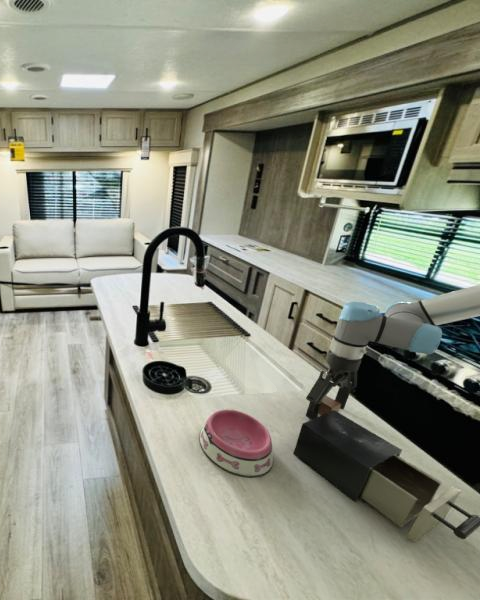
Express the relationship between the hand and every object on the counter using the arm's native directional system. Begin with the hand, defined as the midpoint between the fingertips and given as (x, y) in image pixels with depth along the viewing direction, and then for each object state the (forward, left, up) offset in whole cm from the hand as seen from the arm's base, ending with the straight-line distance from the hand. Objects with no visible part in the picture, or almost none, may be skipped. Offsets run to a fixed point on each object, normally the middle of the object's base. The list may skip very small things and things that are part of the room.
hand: (325, 412), depth 98 cm
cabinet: (-14, +18, 0) cm, 23 cm away
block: (0, 0, 0) cm, 0 cm away
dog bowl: (+1, +37, 0) cm, 37 cm away
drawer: (-27, +18, +1) cm, 32 cm away
